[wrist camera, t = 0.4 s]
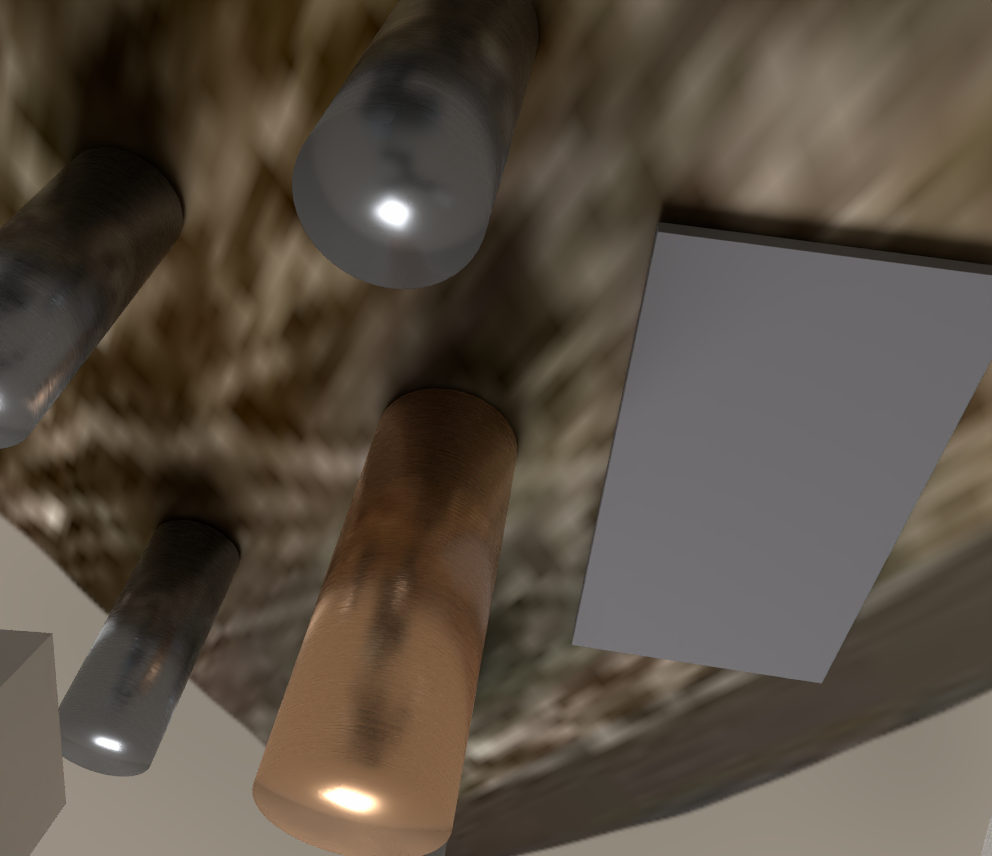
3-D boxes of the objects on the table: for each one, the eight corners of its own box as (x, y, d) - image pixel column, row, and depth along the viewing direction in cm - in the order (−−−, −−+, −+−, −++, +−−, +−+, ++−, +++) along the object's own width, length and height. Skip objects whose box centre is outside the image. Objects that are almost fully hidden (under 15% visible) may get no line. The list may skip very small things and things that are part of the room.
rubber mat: (657, 221, 24) (657, 231, 23) (1026, 269, 23) (1033, 280, 23) (573, 633, 35) (571, 644, 35) (819, 671, 34) (821, 683, 34)
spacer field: (-9, -100, 21) (-282, 23, 15) (546, -35, 20) (495, 120, 14) (182, 657, 39) (96, 846, 33) (472, 703, 39) (438, 904, 33)
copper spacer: (376, 378, 28) (241, 742, 19) (523, 399, 28) (456, 777, 19) (378, 483, 31) (262, 841, 22) (511, 503, 31) (448, 873, 22)
